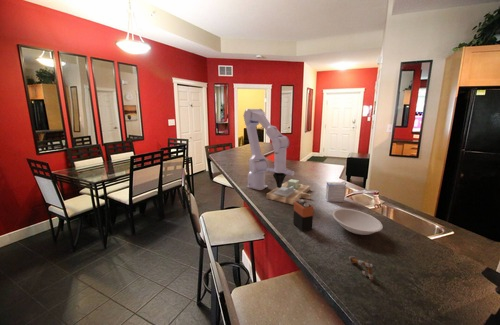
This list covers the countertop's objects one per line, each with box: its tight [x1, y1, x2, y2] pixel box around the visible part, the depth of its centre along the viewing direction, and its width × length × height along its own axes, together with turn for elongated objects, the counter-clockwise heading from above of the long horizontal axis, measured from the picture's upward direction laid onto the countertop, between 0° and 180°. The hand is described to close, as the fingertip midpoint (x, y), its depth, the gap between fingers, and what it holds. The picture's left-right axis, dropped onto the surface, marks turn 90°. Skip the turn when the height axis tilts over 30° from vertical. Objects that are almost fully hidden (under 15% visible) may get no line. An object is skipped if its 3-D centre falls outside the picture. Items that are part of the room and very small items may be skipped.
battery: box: [292, 198, 314, 232], centre depth 82 cm, size 4×7×10 cm, turn 20°
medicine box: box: [325, 181, 347, 203], centre depth 107 cm, size 8×4×9 cm, turn 84°
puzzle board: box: [266, 181, 312, 206], centre depth 115 cm, size 18×24×2 cm
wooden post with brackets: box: [348, 255, 374, 281], centre depth 59 cm, size 2×8×4 cm, turn 12°
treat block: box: [287, 178, 300, 190], centre depth 120 cm, size 4×4×6 cm
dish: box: [332, 208, 384, 236], centre depth 79 cm, size 18×14×5 cm
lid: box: [273, 186, 296, 197], centre depth 111 cm, size 8×10×3 cm
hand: (279, 187), depth 112 cm, fingers closed
